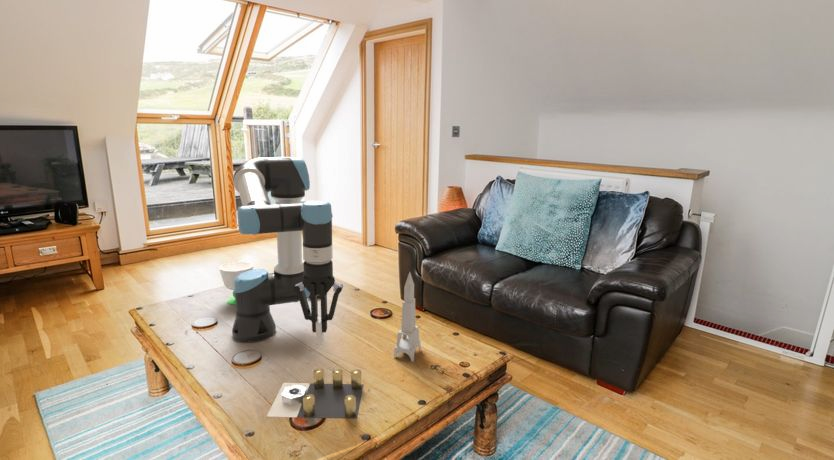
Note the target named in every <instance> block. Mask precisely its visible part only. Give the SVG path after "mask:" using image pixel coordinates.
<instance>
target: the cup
mask: <svg viewBox="0 0 834 460" xmlns="http://www.w3.org/2000/svg"><path fill="white" fill-rule="evenodd" d="M218 270H219V272H220V275H221V278H222V282H223V285H224V287H225V288H226V289H228V290H232V296H233V297H232V298H231V297H230V298H229V299H228V300H227V303H228V305H230V306H231V305H232V306H236V304H235V292H234V281H235V278H236V277H237V276H238V275H240V274H241V273H244V272H246V271H250V270H254V264H253V263H252V262H249V261H241V260H240V261H232V262H225V263H223V264H221V265H220V266H219V268H218Z"/></svg>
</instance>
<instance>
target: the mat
mask: <svg viewBox="0 0 834 460" xmlns="http://www.w3.org/2000/svg"><path fill="white" fill-rule="evenodd" d="M293 385H300V386H302V387H305V388H306V392H307V394H312V395H314V396H315V415H314V416H312V417H305V416H304V412H303V404H299V405H296V406H292V407H291V406H288V405H286V404H284V403H282V393H283V391H284V389H285V388H286V387H290V386H293ZM363 390H364V384H363V383H361V389H359V390H353V389H352V388H351V383H343V388H341V389H339V390H335V389H333V383H324V388H322V389H315V388H314V382H313V383H311V382H310V383H309V382H308V383H305V382H304V383H303V382H283V383H282V385H281V387H280V388H279V391H278V393H277V395H276V397H275V399H274V400H273V403H272V404H271V407H270V409H269V410H268V412H267V415H266V417H267V418H268V417H269V418H306V419H307V418H310V419H311V418H312V419H313V418H314V419H347V418H346V417H345V404H344V398H345V397H346V396H348V395H354V396H355V397H356V416H355V417H353V418H352V419H358V415H359V409H360V406H361V400H362V396H363V395H362V394H363Z"/></svg>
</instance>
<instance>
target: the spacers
mask: <svg viewBox="0 0 834 460" xmlns="http://www.w3.org/2000/svg"><path fill="white" fill-rule="evenodd" d="M331 373H332V374H331V375H332V376H331V377H332V378H331V379H332V384H333V389H335V390H339V389H341V388H343V384H344V378H343V377H344V372H343V370H342V369H341V368H335V369H333V370H332V372H331ZM313 383H314V388H315V389H322V388H324V384H325V370H324V368H315V369H314V370H313ZM350 384H351V388H352V389H353V390H359V389H361V384H362V370H360V369H358V368H357V369H352V370H351V371H350ZM344 404H345V417H346V418H345V419H353V417H355V416H356V397H355V396H354V395H348V396H346V397H345V398H344ZM303 412H304V416H305V417H312V416H314V415H315V396H314V395H312V394H307V395H305V396H304V397H303Z"/></svg>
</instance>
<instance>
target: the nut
mask: <svg viewBox="0 0 834 460" xmlns="http://www.w3.org/2000/svg"><path fill="white" fill-rule="evenodd" d="M305 395H307V392H306V388H305V387H302V386H300V385H293V386H290V387H286V388H285V389H284V391H283V393H282V403H284V404H286V405H288V406H291V407H292V406H296V405H299V404H303V397H304V396H305Z"/></svg>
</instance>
